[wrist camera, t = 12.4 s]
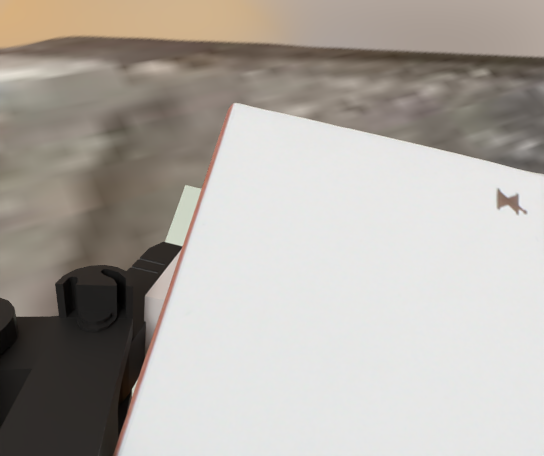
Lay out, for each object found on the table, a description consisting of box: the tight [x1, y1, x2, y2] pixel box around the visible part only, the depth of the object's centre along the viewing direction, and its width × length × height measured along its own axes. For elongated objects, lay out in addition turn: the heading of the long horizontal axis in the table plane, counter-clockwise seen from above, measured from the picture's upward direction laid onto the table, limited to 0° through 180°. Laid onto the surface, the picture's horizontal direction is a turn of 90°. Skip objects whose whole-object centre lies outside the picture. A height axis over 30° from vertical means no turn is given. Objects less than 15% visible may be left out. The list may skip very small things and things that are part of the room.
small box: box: [113, 103, 544, 456], centre depth 11 cm, size 8×6×13 cm
